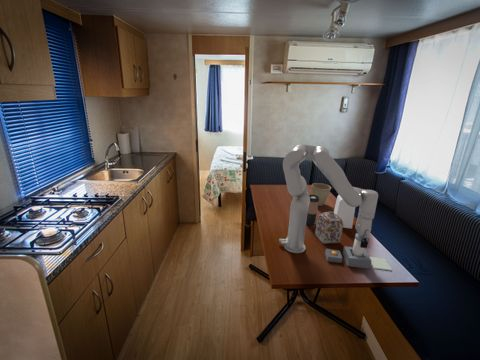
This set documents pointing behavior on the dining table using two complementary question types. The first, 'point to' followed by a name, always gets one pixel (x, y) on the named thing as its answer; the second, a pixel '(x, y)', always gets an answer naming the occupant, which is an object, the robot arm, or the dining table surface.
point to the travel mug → (312, 209)
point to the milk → (344, 212)
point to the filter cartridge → (357, 246)
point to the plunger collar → (333, 256)
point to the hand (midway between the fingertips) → (360, 242)
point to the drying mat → (380, 263)
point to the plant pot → (321, 192)
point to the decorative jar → (329, 227)
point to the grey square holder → (356, 258)
